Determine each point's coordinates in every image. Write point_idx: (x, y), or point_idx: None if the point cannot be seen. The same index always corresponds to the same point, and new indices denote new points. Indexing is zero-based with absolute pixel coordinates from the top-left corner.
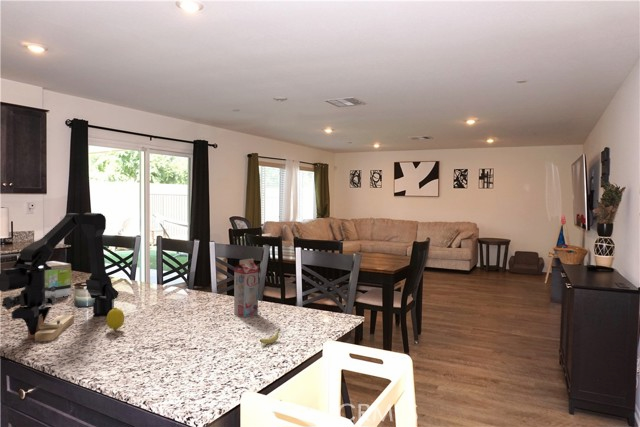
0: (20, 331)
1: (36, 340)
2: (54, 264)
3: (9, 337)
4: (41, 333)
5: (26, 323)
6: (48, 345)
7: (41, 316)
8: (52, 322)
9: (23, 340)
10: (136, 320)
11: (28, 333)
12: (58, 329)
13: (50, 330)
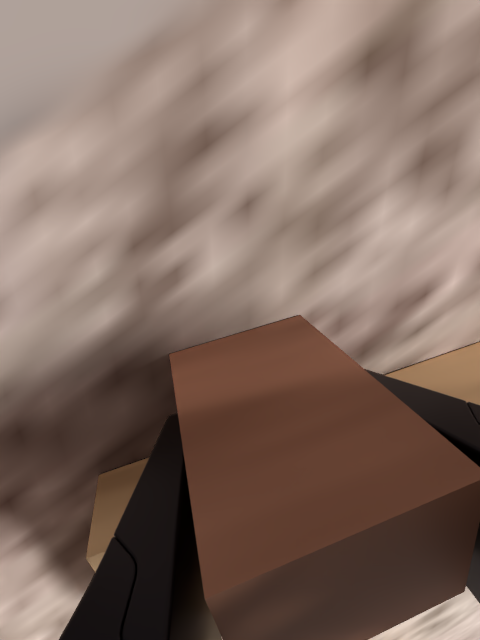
0: (428, 77)
1: (101, 490)
2: None
3: (189, 81)
4: None
5: (79, 615)
6: (22, 624)
7: (452, 589)
8: None
9: (102, 355)
10: (474, 628)
11: (178, 393)
12: None
13: None
